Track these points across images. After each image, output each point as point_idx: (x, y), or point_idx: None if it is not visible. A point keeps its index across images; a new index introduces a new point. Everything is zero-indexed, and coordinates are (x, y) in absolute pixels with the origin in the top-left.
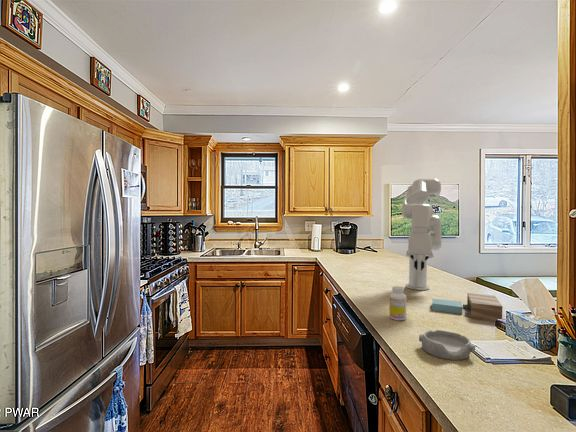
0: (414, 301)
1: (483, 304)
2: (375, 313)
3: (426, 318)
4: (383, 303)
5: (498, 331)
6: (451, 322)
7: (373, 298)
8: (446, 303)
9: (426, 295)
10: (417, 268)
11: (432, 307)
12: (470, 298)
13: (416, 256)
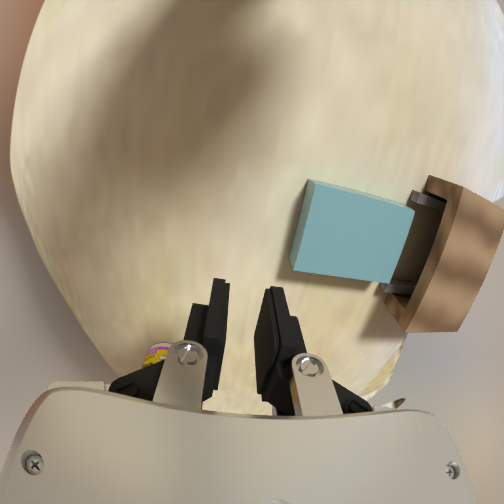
0: (233, 145)
1: (428, 331)
2: (110, 334)
3: (250, 343)
4: (106, 226)
5: (389, 363)
6: (313, 351)
7: (67, 167)
8: (353, 253)
9: (309, 27)
10: (229, 283)
11: (291, 262)
12: (432, 279)
13: (200, 402)
